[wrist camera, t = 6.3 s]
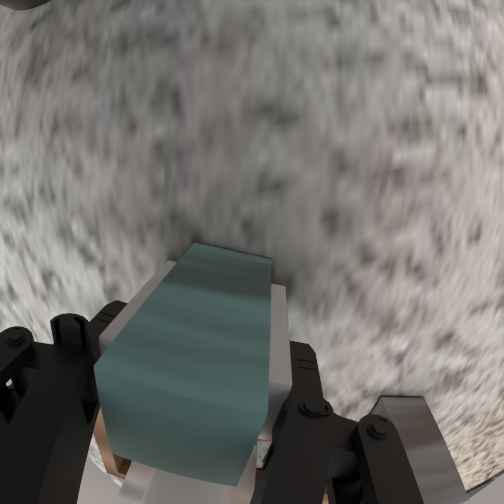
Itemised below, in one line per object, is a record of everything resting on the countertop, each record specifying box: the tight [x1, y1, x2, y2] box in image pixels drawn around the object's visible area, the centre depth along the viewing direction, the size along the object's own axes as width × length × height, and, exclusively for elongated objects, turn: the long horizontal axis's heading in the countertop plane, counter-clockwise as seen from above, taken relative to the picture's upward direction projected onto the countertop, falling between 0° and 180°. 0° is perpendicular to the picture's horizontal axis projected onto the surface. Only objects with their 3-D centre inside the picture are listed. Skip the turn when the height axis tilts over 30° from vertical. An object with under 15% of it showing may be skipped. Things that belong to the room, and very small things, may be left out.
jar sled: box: [93, 242, 272, 490], centre depth 14 cm, size 21×14×10 cm
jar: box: [115, 444, 257, 504], centre depth 15 cm, size 9×8×12 cm
